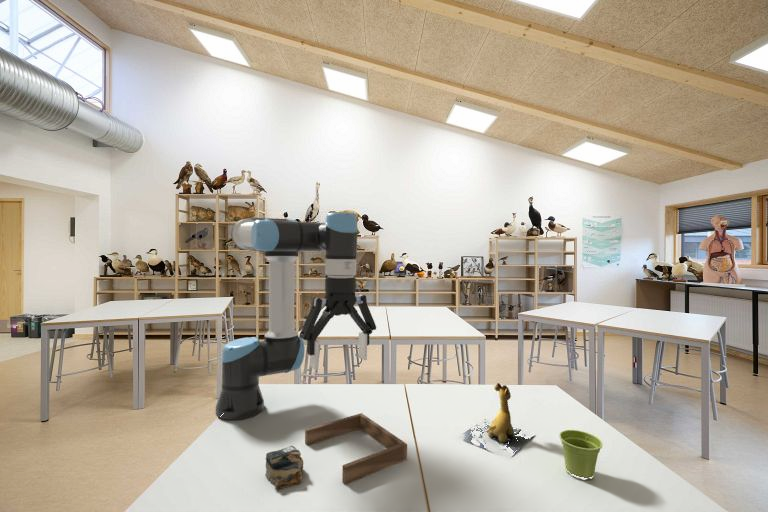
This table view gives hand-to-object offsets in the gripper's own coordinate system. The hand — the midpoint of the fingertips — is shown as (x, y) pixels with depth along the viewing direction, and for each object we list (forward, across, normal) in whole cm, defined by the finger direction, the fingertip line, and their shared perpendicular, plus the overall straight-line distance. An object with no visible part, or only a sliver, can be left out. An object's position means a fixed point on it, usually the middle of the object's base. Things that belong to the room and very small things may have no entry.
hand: (339, 363), depth 92 cm
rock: (+27, -11, +5) cm, 30 cm away
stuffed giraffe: (+27, +46, -12) cm, 55 cm away
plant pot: (+27, +48, -36) cm, 65 cm away
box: (+27, +8, +5) cm, 28 cm away
